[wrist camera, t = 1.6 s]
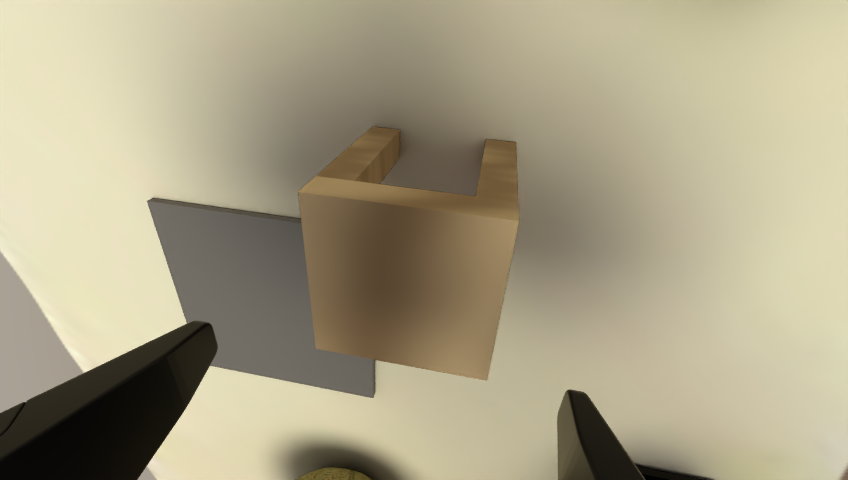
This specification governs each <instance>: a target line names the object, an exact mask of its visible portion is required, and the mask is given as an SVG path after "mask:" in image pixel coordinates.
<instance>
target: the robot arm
mask: <svg viewBox="0 0 848 480" xmlns="http://www.w3.org/2000/svg"><path fill="white" fill-rule="evenodd" d="M217 350H218V344H217V340H216V337H215V333H214V330H213V326H212V325H211V324H210V323H208V322H203V321H198V320H196V321H192V322H190V323H187V324H185V325H183V326H181V327H179V328H177V329H175V330H173V331H171V332H169V333H167V334H165V335H162V336H160V337H158V338H156V339H154V340H152V341H150V342H148V343H146V344H144V345H142V346H140V347H137V348H135V349H133V350H131V351H129V352H127V353H125V354H123V355H121V356H119V357H117V358H115V359H112V360H110V361H108V362H106V363H104V364H102V365H100V366H98V367H96V368H94V369H92V370H89V371H87V372H85V373H83V374H81V375H79V376H77V377H75V378H73V379H71V380H69V381H67V382H64V383H62V384H61V385H58V386H56V387H54V388H52V389H50V390H48V391H46V392H44V393H41V394H39V395H37V396H35V397H33V398H31V399H29V400H28V401H27V402H23V403H20V404H18V405H16V406H14V407H12V408H10V409H8V410H6V411H4V412H2V413H0V480H137V479H138V478H139V476H140V475H141V473H142V472H143V470H144V469H145V468H146V466H147V465H148V463H149V462H150V460H151V459H152V457H153V456H154V454H155V453H156V452H157V450H158V449H159V447H160V446H161V444H162V443H163V441H164V440H165V438H166V437H167V435H168V434H169V433H170V431H171V430H172V428H173V427H174V425H175V424H176V422H177V421H178V419H179V418H180V417H181V415H182V413H183V412H184V410H185V409H186V407H187V406H188V404H189V402H190V401H191V399H192V397H193V395H194V393H195V392H196V390H197V388H198V386H199V384H200V383H201V381H202V379H203V377H204V375H205V374H206V372H207V370H208V368H209V366H210V365H211V363H212V361H213V359H214V357H215V355H216V353H217ZM557 432H558V480H700V479H695V478H690V477H685V476H681V475H676V474H671V473H666V472H661V471H656V470H651V469H646V468H641V467H636V465H635V464H634V462H633V461H632V459H631V458H630V457H629V455H628V454H627V452H626V451H625V449H624V448H623V446H622V445H621V443H620V442H619V440H618V439H617V438H616V436H615V435H614V433H613V432H612V430H611V429H610V427H609V426H608V424H607V423H606V421H605V420H604V418H603V417H602V416H601V414H600V413H599V411H598V410H597V408H596V407H595V405H594V404H593V402H592V401H591V399H590V398H589V397H588V395H587V394H586V393H584V392H581V391H576V390H567V391H566V392H565V395H564V397H563V400H562V403H561V406H560V409H559V412H558V419H557Z"/></svg>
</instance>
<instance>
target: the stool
mask: <svg viewBox="0 0 848 480" xmlns="http://www.w3.org/2000/svg"><path fill="white" fill-rule="evenodd" d="M399 154H400V130H399V129H390V128H381V127H371V128H370V129H369V130H368V131H367V132H366V133H365V134H363V135H362V136H361V137H360V138H359V139H358V140H357V141H355V142H354V143H353V144H352V145H351V146H350V147H349V148H347V149H346V150H345V151H344V152H343V153H342V154H341V155H339V156H338V157H337V158H336V159H335V160H334V161H333V162H331V163H330V164H329V165H328V166H327V167H326V168H325V169H323V170H322V171H321V172H320V173H319V174H318V175H317V176H315V177H314V178H313V179H312V180H311V181H310V182H309V183H307V184H306V185H305V186H304V187H303V188H302V189H301V190H299V191H298V196H299V205H300V214H301V222H302V231H303V240H304V249H305V257H306V266H307V275H308V284H309V293H310V301H311V310H312V319H313V328H314V336H315V345H316V349H320V350H325V351H331V352H336V353H342V354H347V355H352V356H358V357H363V358H368V359H374V360H379V361H384V362H390V363H395V364H401V365H406V366H411V367H417V368H422V369H427V370H433V371H438V372H444V373H449V374H454V375H460V376H465V377H470V378H476V379H481V380H487V378H488V374H489V369H490V364H491V359H492V354H493V349H494V344H495V339H496V334H497V329H498V324H499V319H500V314H501V309H502V304H503V299H504V294H505V289H506V284H507V279H508V274H509V269H510V264H511V259H512V254H513V249H514V244H515V239H516V235H517V230H518V225H519V205H518V180H517V155H516V142H509V141H500V140H491V139H486V143H485V148H484V154H483V159H482V165H481V170H480V176H479V181H478V187H477V192H476V196H469V195H461V194H453V193H445V192H437V191H429V190H422V189H414V188H406V187H398V186H390V185H382V184H380V183H381V182H382V180H383V179H384V178H385V176H386V175H387V173H388V172H389V171H390V169H391V168H392V167H393V165H394V164H395V163H396V161H397V160H398V158H399Z"/></svg>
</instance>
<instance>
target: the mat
mask: <svg viewBox="0 0 848 480" xmlns="http://www.w3.org/2000/svg"><path fill="white" fill-rule="evenodd" d="M147 203H148V206H149V209H150V212H151V215H152V218H153V221H154V224H155V227H156V230H157V233H158V236H159V239H160V242H161V245H162V249H163V252H164V255H165V258H166V261H167V264H168V267H169V270H170V273H171V276H172V279H173V282H174V285H175V288H176V291H177V294H178V297H179V300H180V303H181V306H182V309H183V313H184V316H185V319H186V322H187V323H190V322H192V321H196V320H198V321H203V322H208V323H210V324H211V325H212V326H213V330H214V333H215V337H216V340H217V344H218V350H217V353H216V355H215V357H214V359H213V361H212V363H211V365H210V366H215V367H220V368H225V369H230V370H235V371H240V372H245V373H250V374H255V375H260V376H265V377H270V378H275V379H280V380H285V381H290V382H295V383H300V384H305V385H310V386H315V387H320V388H325V389H330V390H335V391H340V392H345V393H350V394H355V395H360V396H365V397H370V398H373V397H374V394H375V360H374V359H368V358H363V357H358V356H352V355H347V354H342V353H336V352H331V351H325V350H320V349H316V345H315V336H314V328H313V319H312V310H311V301H310V293H309V284H308V275H307V266H306V257H305V249H304V240H303V231H302V222H301V219H296V218H289V217H282V216H275V215H268V214H261V213H254V212H247V211H240V210H233V209H226V208H219V207H212V206H205V205H198V204H191V203H184V202H177V201H170V200H163V199H156V198H152V199H150V200H148V201H147Z"/></svg>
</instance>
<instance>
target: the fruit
mask: <svg viewBox="0 0 848 480" xmlns="http://www.w3.org/2000/svg"><path fill="white" fill-rule="evenodd" d="M296 480H372V479H370V478H369V477H368V476H366V475H364V474H363V473H361V472H358V471H354V470H350V469H344V468H335V467H329V468H321V469H318V470H315V471H312V472H309V473H307V474H305V475H303V476H301V477H299V478H298V479H296Z"/></svg>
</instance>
